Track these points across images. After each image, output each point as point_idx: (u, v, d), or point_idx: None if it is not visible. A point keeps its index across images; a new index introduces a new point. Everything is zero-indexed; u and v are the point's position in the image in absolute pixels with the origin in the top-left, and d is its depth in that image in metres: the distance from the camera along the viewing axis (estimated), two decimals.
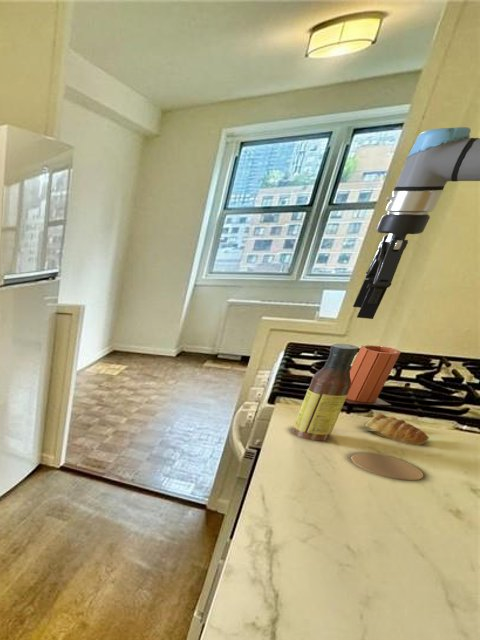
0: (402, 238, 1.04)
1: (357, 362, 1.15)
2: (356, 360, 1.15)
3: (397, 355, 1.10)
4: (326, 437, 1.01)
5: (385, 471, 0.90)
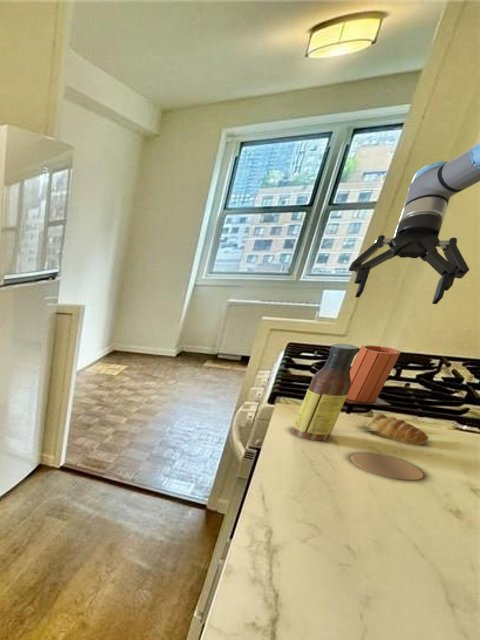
0: (394, 236, 1.19)
1: (357, 362, 1.15)
2: (356, 360, 1.15)
3: (397, 355, 1.10)
4: (326, 437, 1.01)
5: (385, 471, 0.90)
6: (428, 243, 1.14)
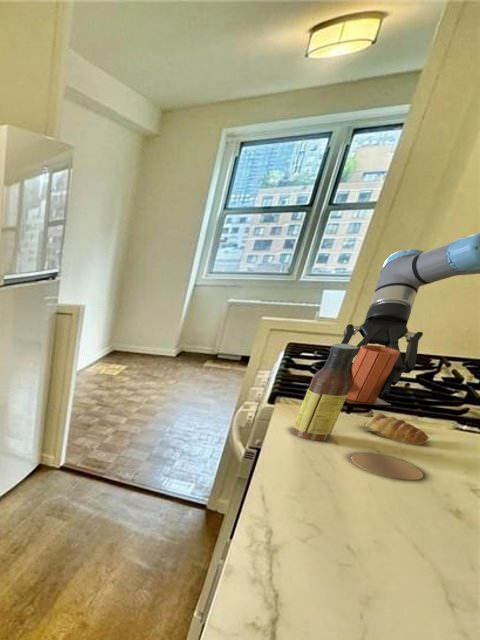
0: (364, 322, 1.19)
1: (357, 362, 1.15)
2: (356, 360, 1.15)
3: (397, 355, 1.10)
4: (326, 437, 1.01)
5: (385, 471, 0.90)
6: (396, 332, 1.15)
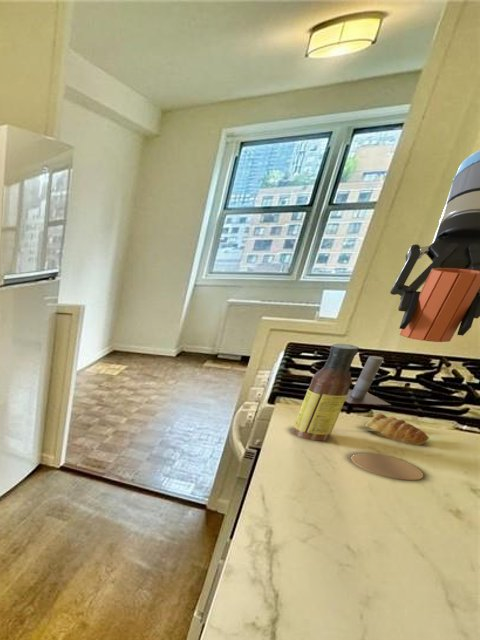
0: (433, 242, 0.93)
1: (426, 289, 0.88)
2: (425, 287, 0.89)
3: None
4: (326, 437, 1.01)
5: (385, 471, 0.90)
6: (479, 250, 0.88)
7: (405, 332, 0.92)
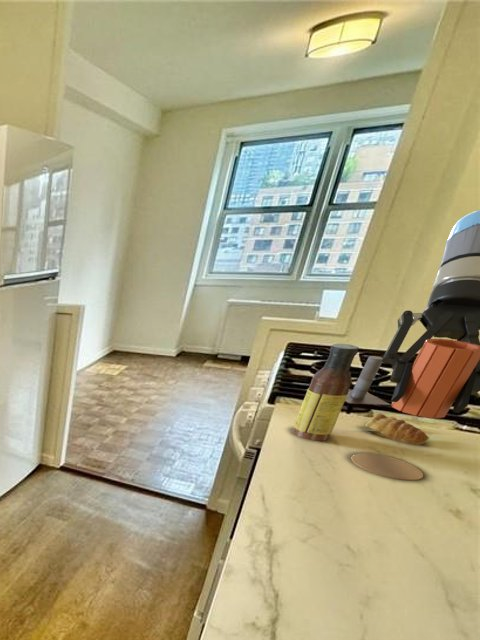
0: (427, 308, 0.87)
1: (420, 362, 0.83)
2: (419, 360, 0.83)
3: None
4: (326, 437, 1.01)
5: (385, 471, 0.90)
6: (475, 321, 0.82)
7: (397, 405, 0.87)
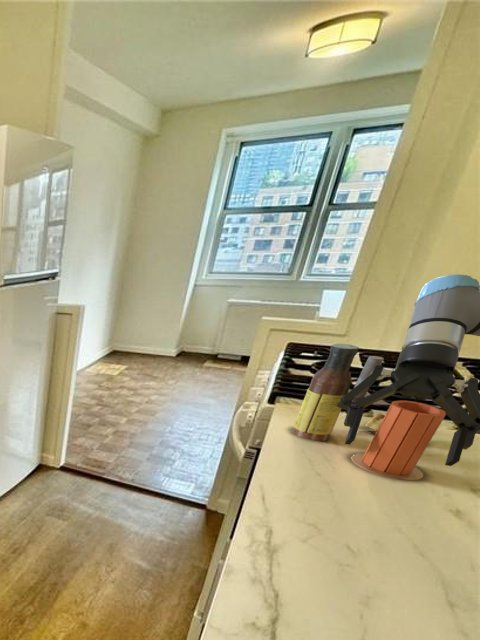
0: (396, 368, 0.92)
1: (387, 422, 0.88)
2: (386, 420, 0.89)
3: (442, 417, 0.84)
4: (326, 437, 1.01)
5: None
6: (440, 383, 0.88)
7: (367, 460, 0.92)
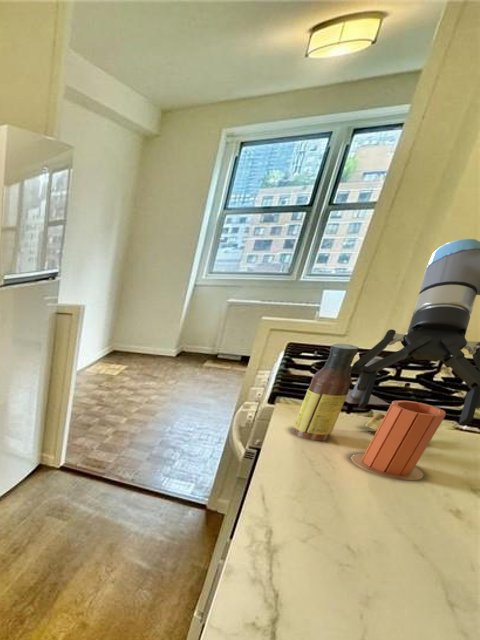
0: (408, 332, 0.94)
1: (387, 422, 0.88)
2: (386, 420, 0.89)
3: (442, 417, 0.84)
4: (326, 437, 1.01)
5: None
6: (452, 345, 0.89)
7: (367, 460, 0.92)
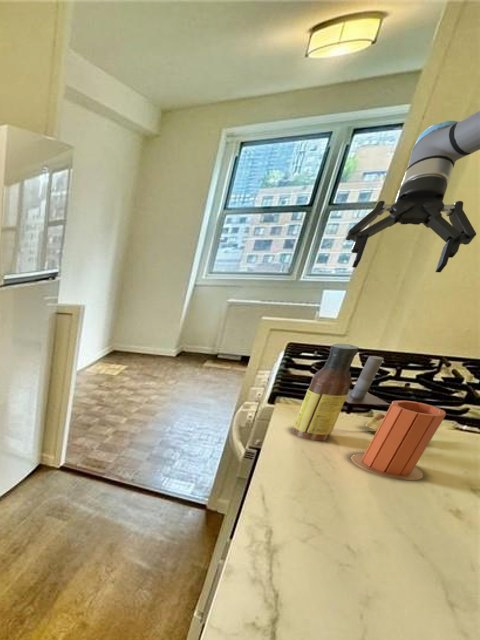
0: (395, 202, 1.10)
1: (387, 422, 0.88)
2: (386, 420, 0.89)
3: (442, 417, 0.84)
4: (326, 437, 1.01)
5: None
6: (431, 207, 1.06)
7: (367, 460, 0.92)
